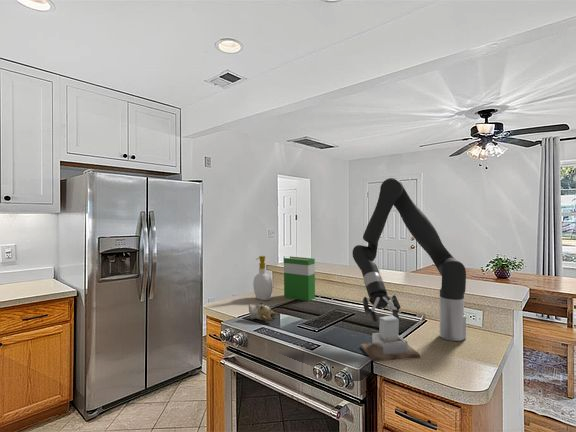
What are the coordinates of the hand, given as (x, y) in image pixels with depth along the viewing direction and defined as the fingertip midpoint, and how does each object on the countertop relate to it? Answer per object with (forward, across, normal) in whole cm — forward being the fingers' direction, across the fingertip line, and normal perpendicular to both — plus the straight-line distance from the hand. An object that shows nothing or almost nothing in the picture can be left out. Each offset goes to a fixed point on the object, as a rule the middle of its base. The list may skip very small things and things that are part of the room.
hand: (386, 321), depth 135 cm
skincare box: (+9, 0, +6) cm, 10 cm away
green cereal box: (-49, -19, +65) cm, 84 cm away
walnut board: (+10, 0, +6) cm, 11 cm away
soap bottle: (-50, -42, +66) cm, 93 cm away
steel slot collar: (+9, 0, +5) cm, 10 cm away
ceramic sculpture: (-24, -45, +40) cm, 64 cm away
